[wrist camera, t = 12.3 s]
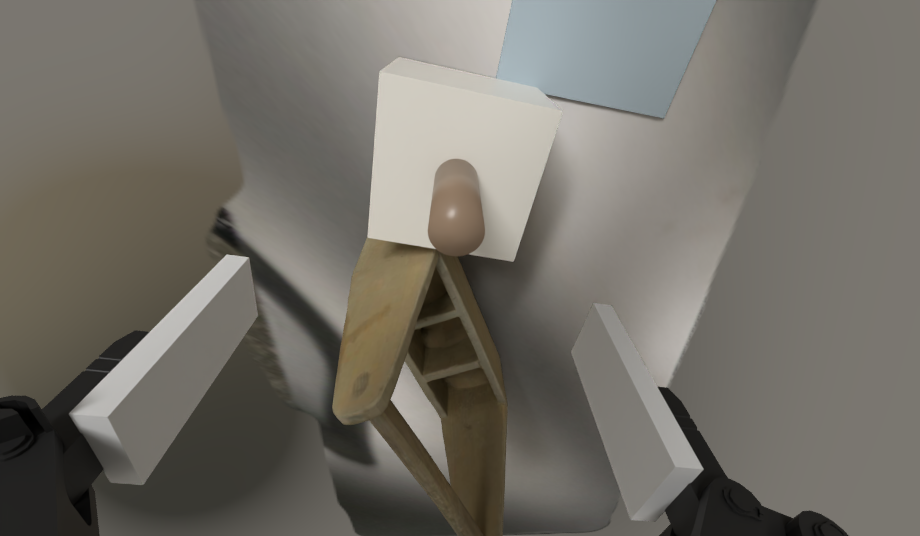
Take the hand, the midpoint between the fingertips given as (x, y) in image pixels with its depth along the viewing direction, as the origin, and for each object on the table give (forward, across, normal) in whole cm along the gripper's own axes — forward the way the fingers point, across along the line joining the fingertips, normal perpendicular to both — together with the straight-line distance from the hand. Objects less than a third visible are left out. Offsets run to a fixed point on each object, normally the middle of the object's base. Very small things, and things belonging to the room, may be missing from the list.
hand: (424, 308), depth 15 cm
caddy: (+34, +3, -26) cm, 43 cm away
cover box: (+34, +2, -2) cm, 34 cm away
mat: (+35, +15, +15) cm, 41 cm away
